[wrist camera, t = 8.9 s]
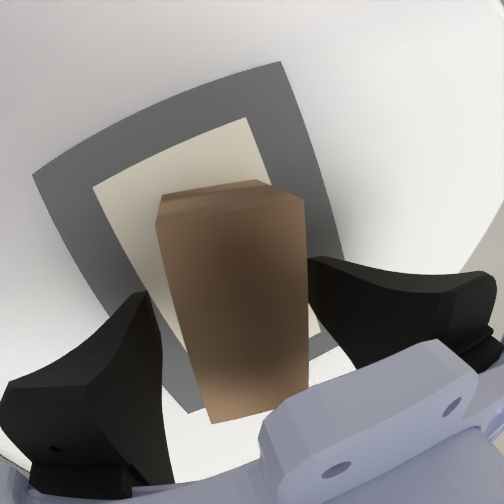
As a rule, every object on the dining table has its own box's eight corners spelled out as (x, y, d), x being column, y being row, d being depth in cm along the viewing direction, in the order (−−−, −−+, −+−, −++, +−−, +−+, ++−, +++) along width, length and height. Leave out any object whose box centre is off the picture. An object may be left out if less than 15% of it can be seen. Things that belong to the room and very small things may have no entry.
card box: (197, 350, 15) (211, 424, 10) (161, 194, 12) (154, 225, 7) (271, 332, 16) (308, 398, 11) (255, 179, 13) (303, 199, 8)
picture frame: (37, 173, 11) (30, 175, 10) (276, 64, 12) (282, 60, 11) (187, 407, 17) (188, 416, 16) (355, 328, 18) (361, 334, 17)
